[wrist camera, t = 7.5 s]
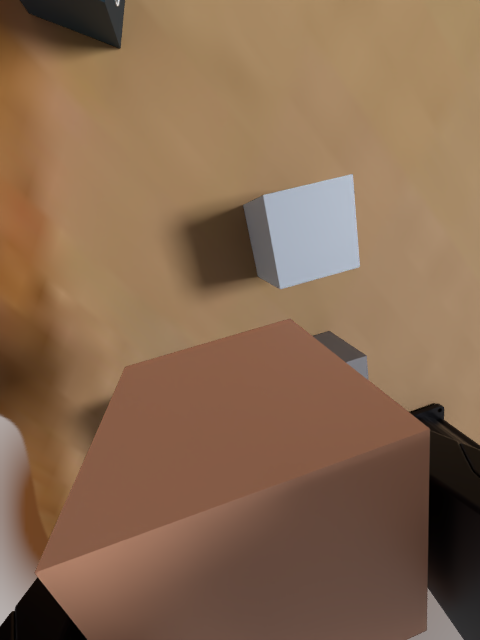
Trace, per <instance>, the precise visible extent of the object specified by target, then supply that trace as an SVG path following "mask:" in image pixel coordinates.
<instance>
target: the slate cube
mask: <svg viewBox="0 0 480 640" xmlns="http://www.w3.org/2000/svg"><path fill="white" fill-rule="evenodd" d="M243 207H244V212H245V217H246V221H247V226H248V231H249V236H250V241H251V245H252V250H253V255H254V260H255V265H256V269H257V274H258V277H260V278H261V279H263V280H265V281H267V282H268V283H270V284H272V285H274V286H275V287H277V288H279V289H283V288H287V287H290V286H294V285H297V284H301V283H304V282H308V281H312V280H315V279H319V278H322V277H326V276H329V275H333V274H337V273H340V272H344V271H347V270H351V269H355V268H358V267H360V263H359V250H358V237H357V224H356V211H355V197H354V184H353V174H351V175H347V176H342V177H338V178H334V179H330V180H325V181H321V182H317V183H313V184H309V185H304V186H300V187H296V188H292V189H287V190H283V191H279V192H275V193H270V194H266V195H263V196H261V197H258V198H256V199H254V200H252V201H250V202H248V203H246V204H244V205H243Z"/></svg>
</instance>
